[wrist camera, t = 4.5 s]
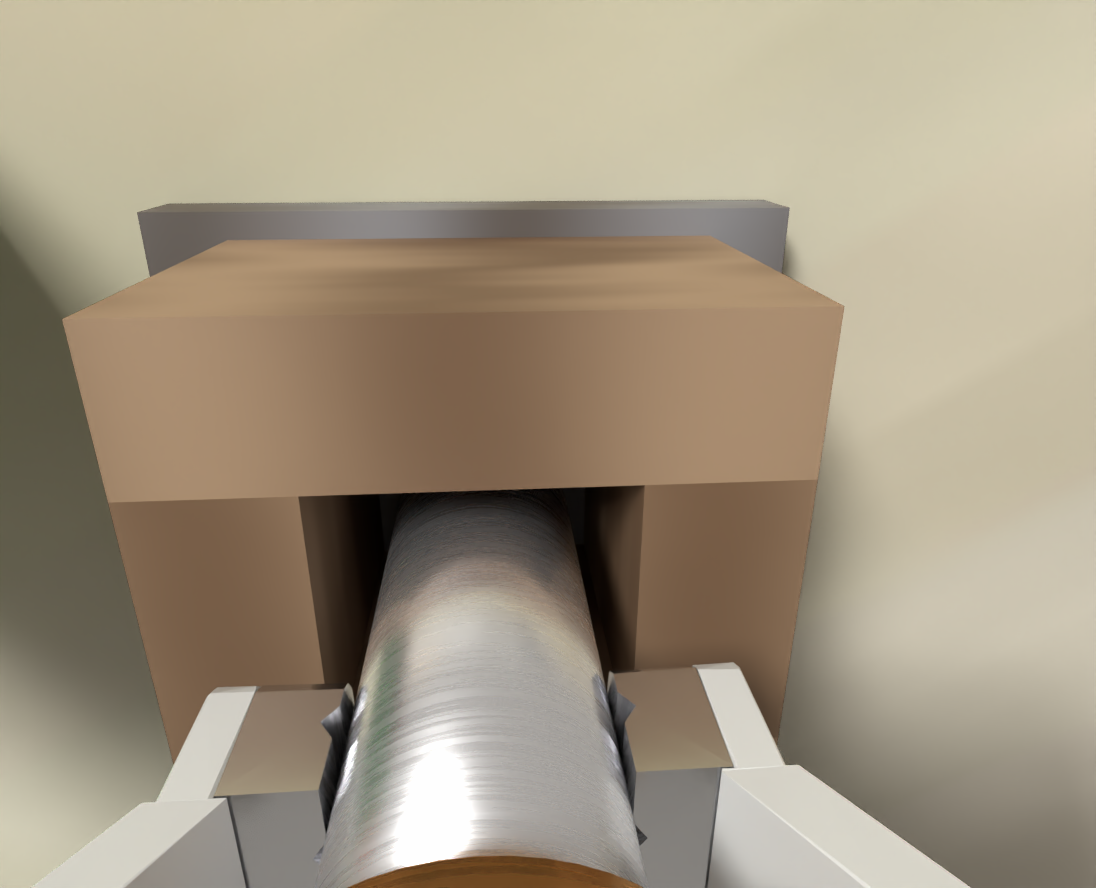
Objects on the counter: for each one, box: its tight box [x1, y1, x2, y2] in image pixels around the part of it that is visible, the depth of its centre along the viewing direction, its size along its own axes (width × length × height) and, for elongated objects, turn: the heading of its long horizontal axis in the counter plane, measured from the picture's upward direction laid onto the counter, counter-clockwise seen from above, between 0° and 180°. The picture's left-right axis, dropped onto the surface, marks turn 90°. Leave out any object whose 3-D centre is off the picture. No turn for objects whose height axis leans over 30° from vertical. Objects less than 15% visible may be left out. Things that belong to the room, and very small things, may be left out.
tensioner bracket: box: [62, 200, 844, 764], centre depth 15 cm, size 12×16×8 cm
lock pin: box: [315, 488, 648, 888], centre depth 11 cm, size 4×4×12 cm
